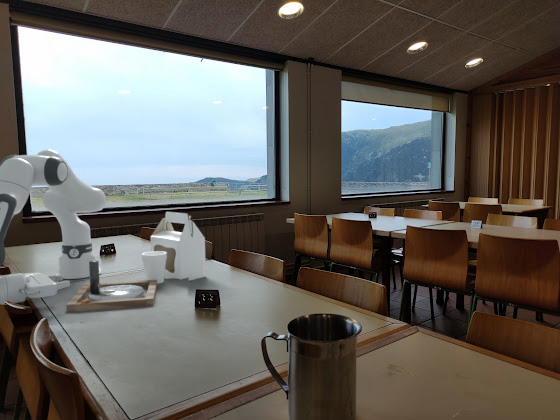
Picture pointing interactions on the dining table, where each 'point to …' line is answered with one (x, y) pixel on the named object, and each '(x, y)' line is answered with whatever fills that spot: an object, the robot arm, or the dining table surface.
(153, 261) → the foam cup
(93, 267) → the dial
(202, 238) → the gable box
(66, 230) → the robot arm
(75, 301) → the wooden tray
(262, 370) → the dining table surface
